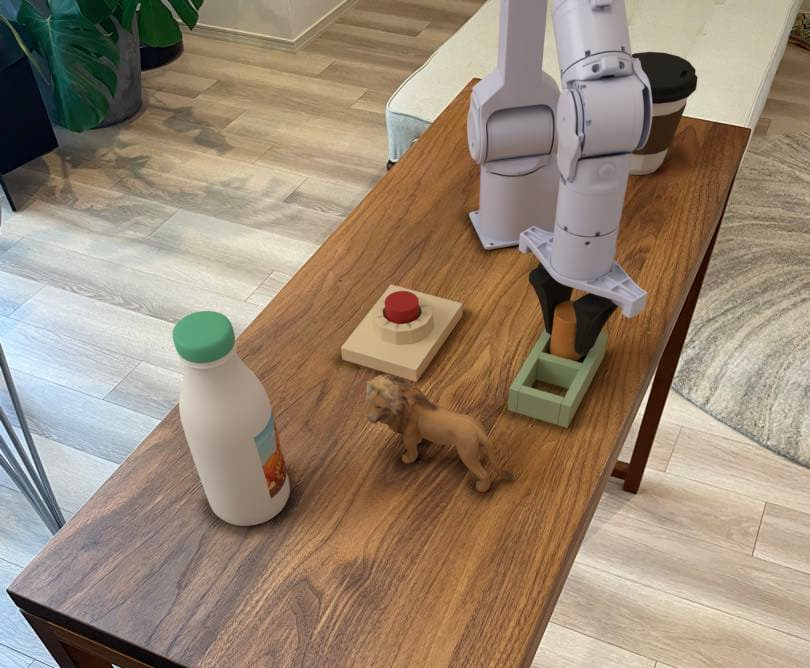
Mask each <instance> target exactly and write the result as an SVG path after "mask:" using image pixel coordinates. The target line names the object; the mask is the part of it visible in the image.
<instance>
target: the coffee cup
mask: <svg viewBox="0 0 810 668" xmlns="http://www.w3.org/2000/svg"><path fill="white" fill-rule="evenodd" d="M632 58H639V61H640V62H641V68H642V70H643V72H644V73H645V74H646V75H647V77H648V80H649V83H650V86H651V95H652V124H651V130H650V134H649V137H648V140H647V142H646V144H645V146H644V147H643V148H642V149H640V150H636V149H635V150H633V151H632V159H631V165H630V170H629V175H633V176H634V175H635V176H636V175H637V176H642V175H643V176H644V175H649V174H652V173H654V172H656V171H657V170H658V169H659V168H660V166H661V165H662V164H663V162H664V160H665V157H666V155H667V152H668V149H669V148H670V146H671V145H672V143H673V141H674V138H675V135H676V132H677V131H678V128H679V124H680V122H681V120H682V117H683V115H684V112H685V110H686V107H687V100H688V98H689V97H690V96H691V95H692V94H693V93H694V92H695V91H696V90H697V87H698V86H697V85H698V76H697V74H696V71H697V70H696V68H695V67H694V66H693V64H692V63H691V62H690V61H688V60H687V59H685V58H683V57H681V56H679V55H675V54H671V53H668V52H661V51H659V52H658V51H644V52H643V51H642V52H634V53H632Z"/></svg>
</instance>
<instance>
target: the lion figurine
mask: <svg viewBox="0 0 810 668" xmlns="http://www.w3.org/2000/svg"><path fill="white" fill-rule="evenodd" d="M365 384H366V392H365V393H366V395H365V403H366V404H367V406H366V408H365V409H364V411H363V415H364V417H365V418H367V419H368V421H369V423H370V424H373V425H375V424H377V423H378V422H379V423H380V424H382V425H387V427H388V429H389V430H390V431H392V432H393V433H397V434H398V435H401V436H402V440H403V443H404V446H405V449H406V450H407V452H405V453H403V454H402V455H401V460H402V462H403V463H404V464H407V465H408V464H411V463H414V462H415V461H416V459H417V458H418V456H419V453H418V449H417V448H418V447H417V446H418V445H419V444H421V442H422V441H423V439H424V440H427V441H429V442H431V443H434V444H438V445H442V446H449V445H450V446H451V445H454V446H455V447H456V451H457V454H458V456H459V458H460V459H461V461H462V463H463V464H464V466H465V467H466V468H468V470H470V471H471V472H472V473H473V474H474V475H475V476H476V477H477V478H478V479H479V480H477V481H476V482H475V488H476V490H477V492H480V493H485V492H487V491H489V488H490V486H491V479H490V473H489V472H488V471H487V469H485V468H484V467H483V465H482V463H481V461H480V460H482V459H483V458H484V455H483V452H482V448H483V447H484V449H485V452H486V456H487V458H488V461H489V463H490V465H491V468H492V469H493V470H494V472H495V473H496V474H497V475H498V476H500V477H501V478H503V479H504V480H513V479H514V477H515V476H514V473H512V472H509V471H506V470H503V469H501V468H500V467H499V466H498V463H497V460H496V457H495V453H494V450H493V447H492V444H491V442H490V440H489V438H488V436H487V430H486V428H485V426H484V424H483V423H481V422H480V420H478V419H477V418H476V417H475V416H472V415H470V414H466V413H461V412H455V411H453V410H450V409H447V408H446V407H443V406H440V405H438V404H436V403H433V402H432V401H430V400H429V399H428V397H427V396H426V395H425V394H424V393H423V392H422V390H421V389H420V388H419V387H417V386H415V384H413V383H410V382H409V381H408V380H405V379H402V377H398V376H395V375H392V374H383V375H382V374H379V375H377V376H375V377H374V378H372V379H371V380H370V381H366V382H365Z"/></svg>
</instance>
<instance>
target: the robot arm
mask: <svg viewBox="0 0 810 668" xmlns="http://www.w3.org/2000/svg"><path fill="white" fill-rule="evenodd" d="M499 1H500V3H499V22H498V43H497V46H498V47H497V63H496V66H497V67H495V68H494V69H493V70H492V71H490V73H488V74H487V75H486V76H485V77H483V78H482V79H481V80H479V81H478V82H477V83H475V84H474V85H473V87H472V88H471V89H472V92H471V93H470V101H469V110H468V112H467V117H466V119H467V121H466V132H467V134H466V135H467V144H468V149H469V154H470V156H471V159H472V160H473V161H474V162H475V163H476V164H477V165H480V178H479V179H480V180H479V181H480V182H479V207H478V208H479V209H478V210H475V211H470V212H469V214H468V217H469V219H470V221H471V223H472V225H473V227H474V230H475V231H476V234H477V236H478V238H479V241H480V242H481V244H482V247H483V248H484V249H485V250H487V251H490V250H494V249H501V248H507V247H514V246H518V251H519V252H521V253H522V254H525V255H528V254H530V253H531V254H533V255H534V256H535V257H536V258H537V260H538V261H539V263H538V264H537V266H536V267H535V268H534V269H532V270H530V271H529V273H528V281H529V283H530V285H531V286H532V288H533V290H534V292H535V295H536V297H537V299H538V302H539V305H540V308H541V312H542V318H543V322H544V329H546V332H547V333H548V334H550V335H552V327H553V319H554V311H555V308H556V306H557V305H558V304H560V303H561V302H564V301H569V300H571V299H572V298H571V297H572V294H573V290H574V289H576V290H579V291H582V292H585V293H586V294H584V295H583V296H580V297H579V298H577V299H576V300H575V301H574V302H573V305H572V306H573V308H574V311H575V316H576V325H577V330H576V339H575V352H576V353H578V354H579V355H582V354H583V353H585V352H586V351H588V350H590V349H591V348H593V347H594V344H595V342H596V340H597V338H598V336H599V334H600V332H602V330H603V328H604V327H605V325H606V324H607V322H608V321H609V319H610V318H611V316H612V315H613V314H614V313H615V311H616V310H617V309H618V308H621V309H622V311H621V314H622V315H623V316H624V317H626V318H627V319H632V318H633V317H635V316H637V315H638V314H640V313H641V312H642V311H644V310H645V308H646V303H647V298H648V293H649V292H648V291H646V290H645V289H643V288H642V287H640V286H639V285H638V284H637V283H636V282H635V281H634V280H633V279H632V277H631V276H629V274H628V273H627V272H626V270H625V269H624V268H623V267H622V266H621V265H620V264H619V263H618V261H617V260H616V259H615V257H616V256H617V248H616V246H617V241H618V236H619V230H620V224H621V219H622V213H623V209H624V203H625V197H626V192H627V187H628V181H629V175H630V174H629V170H630V165H631V159H632V151H633V150H635V149H636V150H640V149H642V148H643V147H644V146H645V144H646V142H647V140H648V137H649V134H650V130H651V124H652V95H651V86H650V83H649V80H648V77H647V75H646V74H645V73H644V72H643V70H642V68H641V62H640V61H639V58H632V54H633V52H632V45H631V39H630V33H629V25H628V18H627V10H626V2H625V0H553V2H552V4H551V7H550V8H551V10H550V13H551V21H552V27H553V34H554V41H555V48H556V55H557V62H558V69H559V76H560V83H561V84H560V85H561V90H560V87H559V84H558V83H557V81H556V80H555V78H554V77H552V75H550V74H549V73H547V72H546V71H544V70H543V62H544V50H545V37H546V27H547V26H546V25H547V15H548V2H549V0H499ZM556 152H557V153H556Z"/></svg>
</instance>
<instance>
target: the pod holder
mask: <svg viewBox="0 0 810 668" xmlns="http://www.w3.org/2000/svg"><path fill="white" fill-rule="evenodd" d="M608 340H609V333H606V332H602V331H601V332H600V334H599V336H598V338H597V340H596V342H595V344H594V347H593V348H591V349H590V350H588V351H586V352H585V353H584V355H583V356H582V358H584V360H583V362H579V361H577V360H576V361H572V360H569V359H565V358H562V357H558V356H554V355H551V353H550V343H551V335H550V334H548V333H547V332H546V329H545V328H544V329H543V330H542V333H541V334H540V335H539V337H538V339H537V341H536V342H535V344H534V346H533V348H532V349H531V351H530V353H529V354H528V355H527V357H526V360H525V361H524V363H523V364H522V366H521V368H520V369H519V371H518V372H517V374H516V376H515V378H514V380H513V381H512V383H511V385H510V386H509V389H508V399H507V400H508V401H507V402H508V403H507V411H510V412H513V413H517V414H518V415H519V414H520V415H524V416H525V417H530V418H533V419H536V420H540V421H543V422H546V423H549V424H553V425H555V426H559V427H561V428H562V427H563V428H566V429H568V428H569V426H570V424H571V422H572V420H573V419H574V416H575V414H576V413H577V410H578V409H579V406H580V404H581V403H582V401H583V399H584V396H586V393H587V391H588V390H589V387H590V385H591V383H592V382H593V379H594V377H595V375H596V373H597V372H598V370H599V368H600V366H601V364H602V363H603V360H604V358H605V356H606V351H607V345H608ZM536 380H537V381H539V382H543V383H546V384H549V385H553V386H557V387H559V388H563V389H567V392H566V394H565V395H564V396H561V395H558V394H554V393H551V392H548V391H543V390H540V389H537V388H533V385H534V383H535V382H536Z"/></svg>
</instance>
